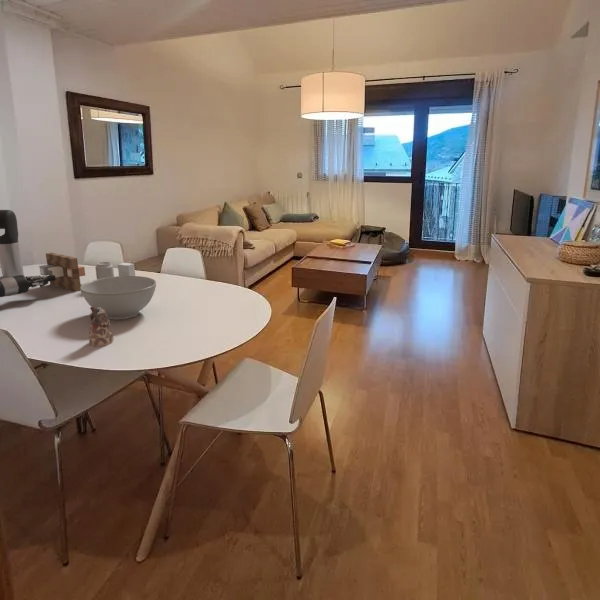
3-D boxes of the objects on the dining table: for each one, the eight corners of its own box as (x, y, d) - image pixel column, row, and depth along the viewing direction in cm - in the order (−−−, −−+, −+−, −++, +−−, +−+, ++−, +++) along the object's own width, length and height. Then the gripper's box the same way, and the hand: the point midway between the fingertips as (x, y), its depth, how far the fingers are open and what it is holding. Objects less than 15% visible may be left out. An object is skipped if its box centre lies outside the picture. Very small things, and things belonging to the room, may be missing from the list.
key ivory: (48, 276, 205) (46, 268, 204) (61, 274, 210) (60, 265, 209) (53, 278, 203) (51, 269, 202) (66, 275, 208) (65, 266, 207)
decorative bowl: (170, 306, 184) (168, 278, 181) (134, 329, 159) (131, 296, 156) (111, 302, 190) (108, 274, 186) (67, 322, 165) (63, 290, 161)
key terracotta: (67, 276, 205) (65, 268, 204) (80, 274, 211) (79, 265, 209) (72, 278, 203) (71, 269, 202) (85, 275, 208) (84, 266, 207)
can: (118, 286, 214) (115, 261, 210) (110, 290, 206) (107, 264, 203) (103, 285, 214) (100, 260, 211) (94, 290, 207) (91, 264, 204)
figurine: (100, 347, 143) (96, 311, 140) (84, 344, 146) (79, 308, 142) (118, 340, 149) (114, 305, 146) (102, 336, 152) (98, 302, 149)
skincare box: (136, 289, 210) (134, 263, 206) (130, 291, 206) (128, 265, 202) (126, 287, 212) (123, 262, 208) (119, 289, 208) (117, 264, 204)
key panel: (50, 284, 215) (45, 253, 211) (63, 281, 220) (59, 251, 216) (76, 291, 204) (71, 258, 200) (89, 288, 210) (85, 256, 205)
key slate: (39, 274, 209) (38, 266, 208) (53, 272, 214) (52, 263, 213) (44, 275, 207) (43, 267, 206) (58, 273, 212) (56, 264, 211)
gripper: (6, 292, 188) (47, 283, 202) (22, 297, 181) (64, 288, 195) (2, 274, 186) (45, 267, 200) (19, 279, 179) (61, 271, 193)
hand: (54, 277), depth 198 cm, fingers closed
